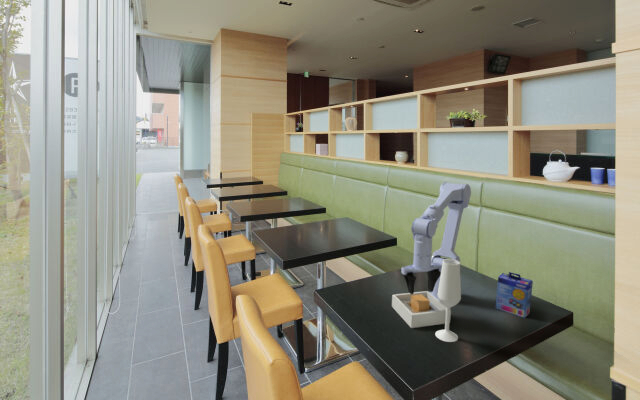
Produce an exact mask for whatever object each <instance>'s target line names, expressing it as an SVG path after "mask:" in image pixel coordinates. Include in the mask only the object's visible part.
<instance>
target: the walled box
mask: <svg viewBox="0 0 640 400" xmlns="http://www.w3.org/2000/svg"><path fill="white" fill-rule="evenodd" d="M429 292H430V291H429V290H426V291H414V293H413V294H410V293H409V292H407V293H405V292H404V293H396V294H392V296H391V307H392V309H394V310H395V312H396V313H397V314H398V315H399V316H400V318H402V320H403V321H404V322H405V323H406V324H407V325H408V326H409V327H410V328H411V329H414V328H422V327H423V328H424V327H430V326H435V325H445V320H446V306H445V305H444V304H443V303H442V302H440V301H439V300H438V299H437V298H435V297H434V296H433V295H432V294H431V293H429ZM420 294H422V295H423V296H424V297H425V298H427V299H428V300H429V302H431V303H432V304H433V305H434V306H435V307H436V308H438V309H439V311H430V312H422V313H414V314H413V313H412V312H411V311H410V310H409V309H408V308H407V307H406V306H405V305H404V304H403V303H402V302H401V301H407V300H411V296H413V295H420ZM451 315H452V310H451V309H450V319H452V317H451ZM450 323H451V320H450V321H449V324H450Z"/></svg>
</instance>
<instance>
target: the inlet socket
mask: <svg viewBox="0 0 640 400" xmlns="http://www.w3.org/2000/svg"><path fill="white" fill-rule="evenodd" d="M401 302H402V303H403V304H404V305H405V306H406V307H407V308H408V309H409V310H410V311H411V312H412V313H413V314H414V313H422V312H430V311H439V309H438V308H436V307H435V306H434V305H433V304H432V303H431V302H429V310H427V311H418V312H415V311H414V310H413V309H412V308H411V300H407V301H401Z"/></svg>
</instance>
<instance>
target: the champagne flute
mask: <svg viewBox="0 0 640 400" xmlns="http://www.w3.org/2000/svg"><path fill="white" fill-rule="evenodd" d="M460 281H461V261H460V262H459V261H457V260H453V259H451V258H446V259H445V260H443V263H442V269H441V276H440V282H439V288H438V294H437V296H438V298H439V300H440V301H441V303H443V304H444V305H445V306H446V320H445V324H444V329H439V330H437V331H435V334H434V335H435V337H436V338H437V339H439V340H440V341H443V342H446V343H452V342H453V343H454V342H457V341H458V339H459V336H458V334H457V333H455V332H453V331H451V330H450V323H449V321H450V322H451V318H450V310H451V308H452V307H455V306H456V305H458V304H459V303H460V302H461V300H462V291H461V290H462V289H461V288H462V287H461V286H462V282H461V283H460Z"/></svg>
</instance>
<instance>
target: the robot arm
mask: <svg viewBox="0 0 640 400" xmlns="http://www.w3.org/2000/svg"><path fill="white" fill-rule="evenodd" d="M471 195H472V190H471V186H470V185H469V184H468V183H455V182H454V183H452V182H447V181H443V182H442V183H441V184H440V186H439V195H438V197H437V199H436V201H435V202H434V203H433V204H430V205H429V206H428V207H426V209H425V211H423V213H422V215H421V216H420V217H417V218H415V219H414V220H413V221H412V224H411V226H410V230H411V233H412V239H413V240H414V242H413V243H414V244H413V246H414V247H413V259H412V260H413V263H412V264H410V265H409V264H408V265H406V266H402V267H401V270H400V271H401V274H402V275H403V278H404V280H405V282H406V287H407V290H408V292H407V293H410V294H413V293H414V292H415V282H416V280H417V276H415V275H414V274H415V273H425V272H426V274H427V290H428V292H429V293H431V294H432V295H433V296H434V297H435V298H437V299H438V300H439V298H438V296H437V294H438V288H439V282H440V276H441V269H442V263H443V260H445V259H453V260H457V261H459V262H460V263H461V258H460V256H459V255H458V254H457V253H456V252H455V248H456V244H457V240H458V235H459V232H460V231H459V230H460V225H461V222H462V221H461V220H462V217H463V212H464V209H466V208H468V207H469V204H470V199H471ZM447 207H448V213H447V216H446V217H447V218H446V222H445V227H444V232H443V237H442V240H441V245H440V248H438V249H436V250H435V251H433V253H432V250H433V248H432V247H433V237H434V236H435V235H436V231H437V229H438V227H439V225H438V224H439V223H440V221H441V220H442V219H443V217H444V214H445V209H446V208H447ZM460 283H461V284H462V282H461V280H460ZM439 301H440V300H439ZM440 302H441V301H440ZM441 303H442V302H441Z"/></svg>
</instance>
